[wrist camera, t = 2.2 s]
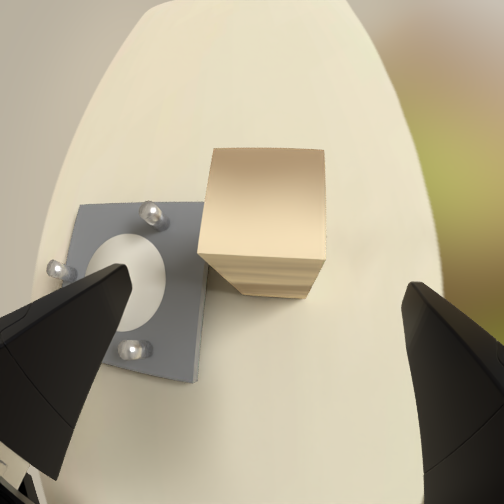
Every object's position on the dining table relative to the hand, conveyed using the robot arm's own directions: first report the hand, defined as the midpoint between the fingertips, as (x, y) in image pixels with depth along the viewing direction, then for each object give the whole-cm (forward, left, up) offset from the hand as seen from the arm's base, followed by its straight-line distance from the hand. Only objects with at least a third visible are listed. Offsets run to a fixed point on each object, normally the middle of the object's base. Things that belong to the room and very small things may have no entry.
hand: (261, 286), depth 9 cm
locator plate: (+1, +11, -10) cm, 15 cm away
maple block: (+3, 0, -10) cm, 11 cm away
